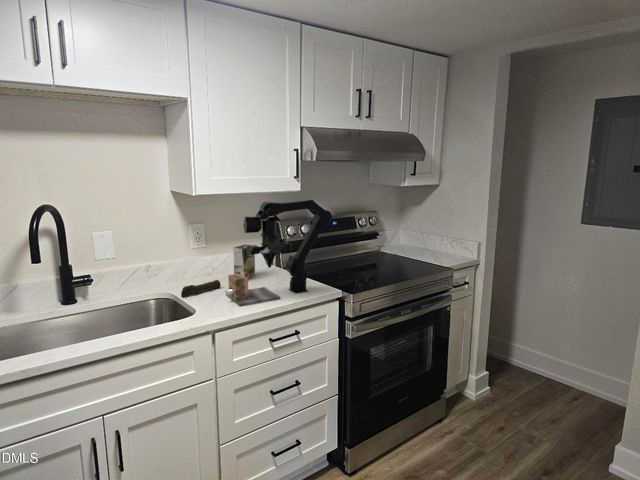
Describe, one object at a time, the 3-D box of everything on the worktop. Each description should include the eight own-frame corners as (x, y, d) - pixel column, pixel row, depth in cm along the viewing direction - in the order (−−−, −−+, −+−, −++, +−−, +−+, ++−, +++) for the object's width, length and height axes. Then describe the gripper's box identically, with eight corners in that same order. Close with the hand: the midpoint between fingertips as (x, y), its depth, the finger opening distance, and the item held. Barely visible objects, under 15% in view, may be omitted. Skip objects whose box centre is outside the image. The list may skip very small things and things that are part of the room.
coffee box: (244, 281, 204) (243, 248, 201) (233, 279, 207) (232, 247, 204) (255, 276, 212) (254, 245, 209) (245, 275, 215) (244, 244, 212)
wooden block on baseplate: (264, 289, 192) (264, 267, 190) (280, 299, 179) (279, 276, 177) (226, 295, 183) (225, 273, 181) (239, 306, 170) (238, 282, 168)
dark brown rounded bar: (216, 287, 196) (215, 277, 195) (221, 288, 193) (220, 279, 192) (178, 296, 182) (177, 286, 181) (183, 298, 179) (182, 288, 179)
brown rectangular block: (244, 293, 181) (243, 275, 180) (248, 296, 177) (247, 278, 176) (224, 296, 177) (223, 278, 175) (228, 300, 173) (227, 281, 171)
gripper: (255, 236, 168) (256, 274, 171) (297, 232, 178) (297, 268, 181) (245, 232, 178) (246, 268, 181) (285, 228, 187) (285, 263, 190)
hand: (269, 267), depth 183 cm, fingers closed
